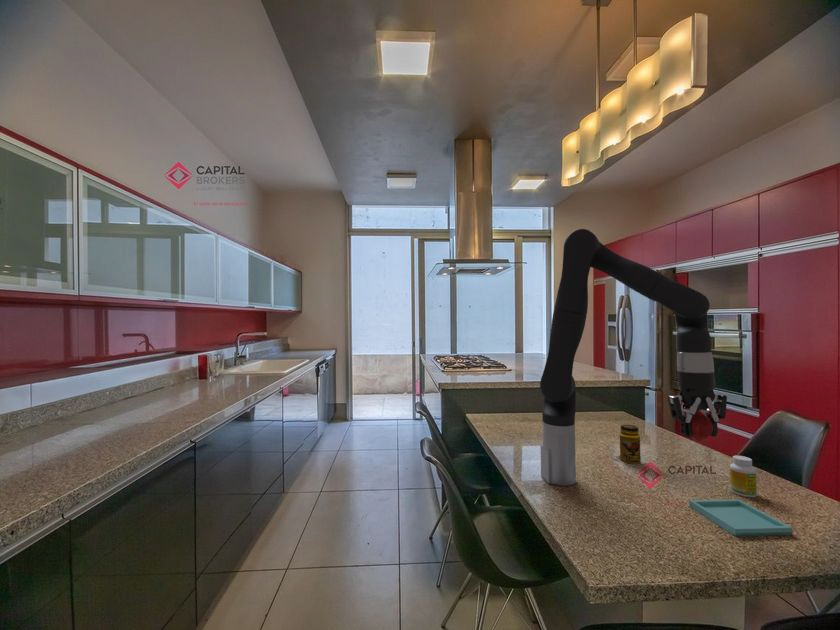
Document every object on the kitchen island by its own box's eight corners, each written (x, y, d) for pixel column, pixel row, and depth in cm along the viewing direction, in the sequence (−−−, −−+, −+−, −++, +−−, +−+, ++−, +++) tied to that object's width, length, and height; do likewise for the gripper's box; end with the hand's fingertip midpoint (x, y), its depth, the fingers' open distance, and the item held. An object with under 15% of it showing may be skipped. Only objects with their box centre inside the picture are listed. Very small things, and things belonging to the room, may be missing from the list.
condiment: (632, 466, 119) (631, 430, 119) (609, 458, 126) (609, 423, 127) (647, 463, 121) (646, 427, 122) (624, 455, 129) (623, 421, 130)
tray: (735, 536, 79) (735, 529, 79) (689, 506, 92) (689, 500, 92) (792, 535, 80) (792, 527, 80) (738, 505, 93) (738, 499, 93)
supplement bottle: (751, 499, 96) (750, 463, 96) (726, 491, 101) (725, 456, 101) (760, 495, 98) (759, 459, 99) (736, 487, 103) (734, 453, 103)
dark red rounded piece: (719, 444, 88) (717, 411, 88) (692, 444, 89) (690, 411, 89) (705, 437, 93) (703, 406, 94) (680, 437, 94) (678, 406, 95)
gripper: (678, 372, 88) (683, 442, 87) (735, 370, 88) (740, 439, 88) (657, 369, 95) (661, 433, 95) (710, 367, 96) (714, 431, 95)
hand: (699, 436), depth 91 cm, fingers closed on dark red rounded piece, 6 cm apart
